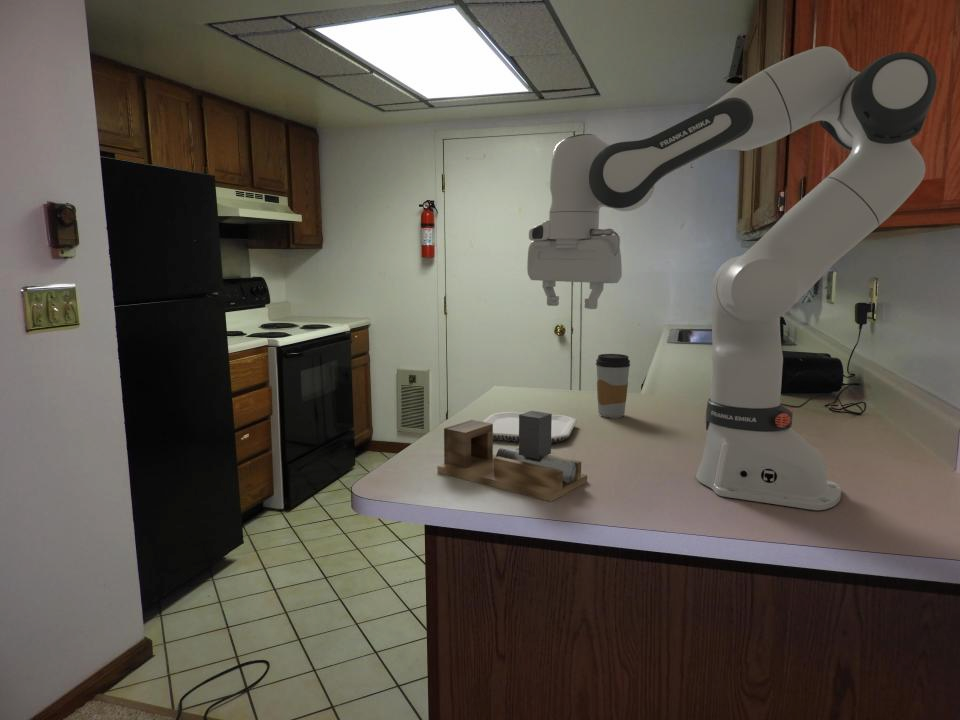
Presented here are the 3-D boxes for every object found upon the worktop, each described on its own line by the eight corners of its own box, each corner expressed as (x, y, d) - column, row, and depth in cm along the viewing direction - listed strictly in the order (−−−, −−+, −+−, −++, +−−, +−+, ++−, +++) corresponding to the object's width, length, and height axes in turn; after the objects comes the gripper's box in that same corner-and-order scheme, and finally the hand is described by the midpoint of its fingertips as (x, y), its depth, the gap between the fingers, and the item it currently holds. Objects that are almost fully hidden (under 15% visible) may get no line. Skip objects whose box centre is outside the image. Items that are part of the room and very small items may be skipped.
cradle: (587, 481, 112) (588, 438, 111) (551, 501, 103) (551, 454, 102) (477, 456, 127) (477, 418, 126) (437, 472, 117) (437, 430, 116)
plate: (470, 441, 139) (470, 431, 139) (493, 419, 159) (493, 410, 158) (566, 448, 133) (566, 438, 133) (578, 425, 153) (578, 416, 153)
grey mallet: (576, 479, 109) (577, 418, 108) (564, 485, 106) (565, 422, 104) (508, 463, 118) (508, 406, 116) (495, 469, 114) (495, 410, 113)
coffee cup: (635, 416, 160) (637, 356, 158) (611, 420, 156) (613, 359, 154) (611, 410, 167) (612, 352, 165) (587, 414, 163) (588, 355, 160)
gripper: (631, 228, 110) (627, 310, 112) (546, 232, 126) (544, 303, 128) (607, 227, 106) (603, 311, 108) (522, 231, 122) (521, 304, 124)
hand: (571, 307), depth 118 cm, fingers open, 8 cm apart
